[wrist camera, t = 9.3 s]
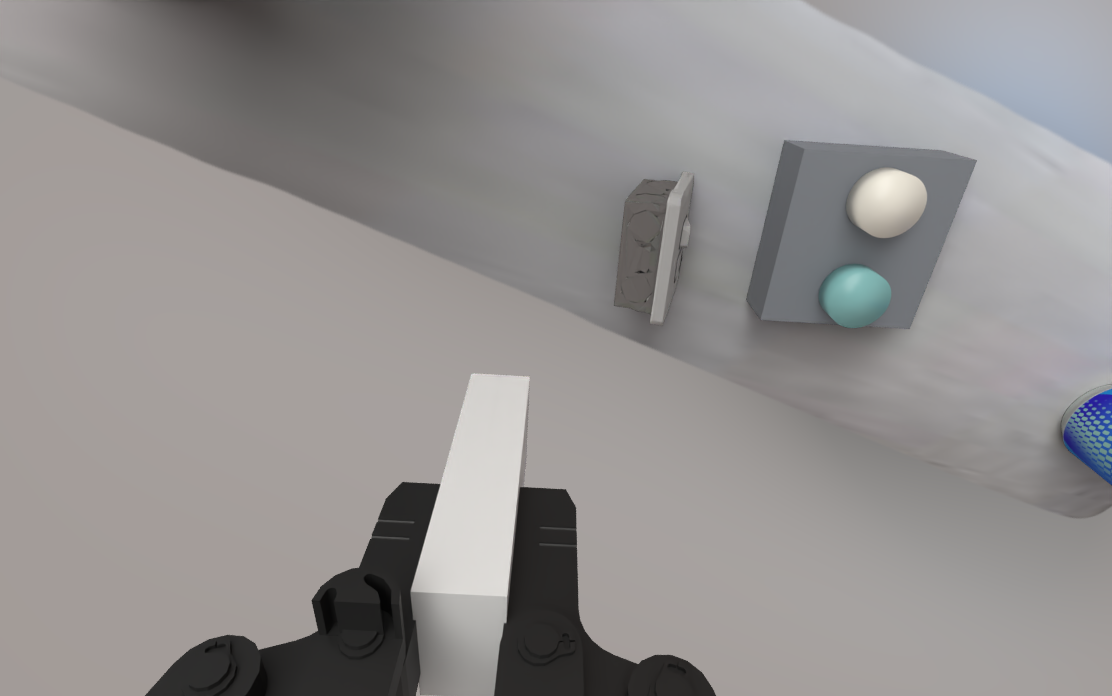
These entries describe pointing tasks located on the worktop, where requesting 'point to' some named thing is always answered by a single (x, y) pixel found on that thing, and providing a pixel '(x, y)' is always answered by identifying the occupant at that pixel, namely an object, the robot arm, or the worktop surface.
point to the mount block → (849, 229)
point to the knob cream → (886, 202)
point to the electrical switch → (653, 245)
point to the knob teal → (854, 295)
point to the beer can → (1091, 430)
